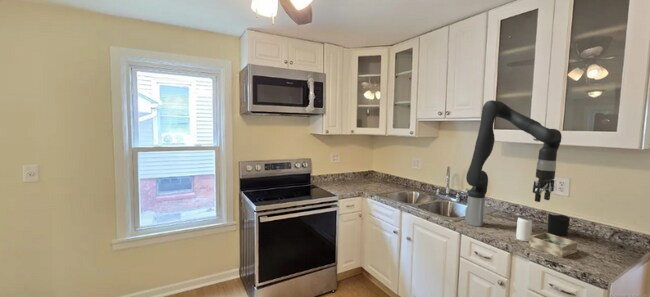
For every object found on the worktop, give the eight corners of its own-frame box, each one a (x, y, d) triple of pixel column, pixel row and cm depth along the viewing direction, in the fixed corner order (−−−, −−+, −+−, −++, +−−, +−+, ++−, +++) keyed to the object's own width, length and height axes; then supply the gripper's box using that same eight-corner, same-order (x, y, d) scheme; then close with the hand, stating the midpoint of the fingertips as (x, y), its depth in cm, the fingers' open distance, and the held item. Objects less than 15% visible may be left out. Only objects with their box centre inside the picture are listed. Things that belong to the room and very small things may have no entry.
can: (524, 237, 156) (526, 215, 155) (533, 242, 149) (535, 219, 148) (513, 237, 155) (514, 215, 154) (521, 242, 149) (523, 219, 148)
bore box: (528, 246, 144) (529, 236, 144) (543, 241, 150) (544, 232, 150) (561, 257, 131) (562, 247, 131) (576, 252, 138) (577, 242, 137)
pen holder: (564, 237, 156) (566, 220, 155) (544, 232, 163) (545, 215, 163) (570, 234, 161) (572, 217, 160) (550, 229, 169) (552, 212, 168)
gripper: (545, 166, 148) (541, 197, 150) (529, 168, 141) (525, 200, 143) (562, 169, 141) (558, 201, 143) (546, 171, 135) (542, 204, 137)
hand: (542, 200), depth 143 cm, fingers open, 8 cm apart
